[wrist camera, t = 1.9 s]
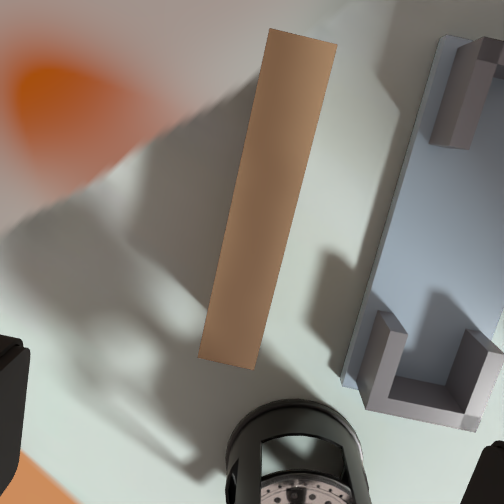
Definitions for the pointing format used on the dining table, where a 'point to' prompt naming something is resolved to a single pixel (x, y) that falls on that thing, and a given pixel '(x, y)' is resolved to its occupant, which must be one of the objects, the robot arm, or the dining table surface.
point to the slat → (265, 195)
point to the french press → (298, 480)
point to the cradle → (440, 253)
